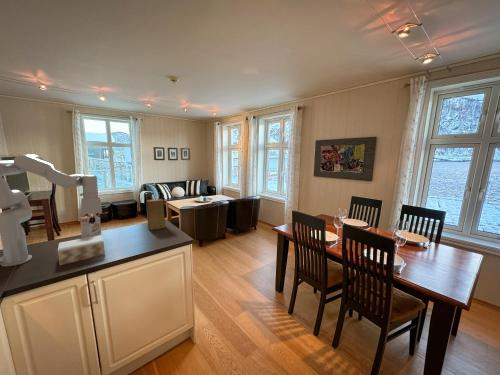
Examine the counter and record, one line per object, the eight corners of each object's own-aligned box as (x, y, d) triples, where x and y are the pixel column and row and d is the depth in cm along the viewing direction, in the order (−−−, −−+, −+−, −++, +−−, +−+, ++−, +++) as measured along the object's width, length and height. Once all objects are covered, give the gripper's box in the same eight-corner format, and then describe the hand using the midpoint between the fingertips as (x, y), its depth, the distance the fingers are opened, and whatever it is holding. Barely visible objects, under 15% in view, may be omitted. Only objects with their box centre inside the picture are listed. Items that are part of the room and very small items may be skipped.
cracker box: (91, 247, 149) (88, 218, 146) (82, 247, 148) (79, 218, 145) (102, 239, 163) (100, 212, 160) (94, 239, 162) (91, 213, 159)
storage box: (59, 265, 125) (57, 252, 124) (60, 256, 136) (59, 244, 135) (104, 254, 139) (103, 243, 137) (102, 247, 149) (101, 236, 148)
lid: (57, 252, 124) (57, 250, 124) (59, 244, 135) (59, 242, 134) (103, 242, 137) (103, 241, 137) (101, 236, 148) (101, 234, 148)
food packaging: (163, 224, 198) (162, 198, 194) (165, 228, 190) (164, 200, 186) (147, 227, 191) (145, 199, 187) (148, 230, 183) (147, 201, 179)
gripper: (75, 197, 126) (77, 227, 128) (105, 194, 135) (107, 223, 138) (75, 194, 131) (77, 223, 134) (104, 193, 141) (106, 220, 143)
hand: (92, 223), depth 136 cm, fingers closed
